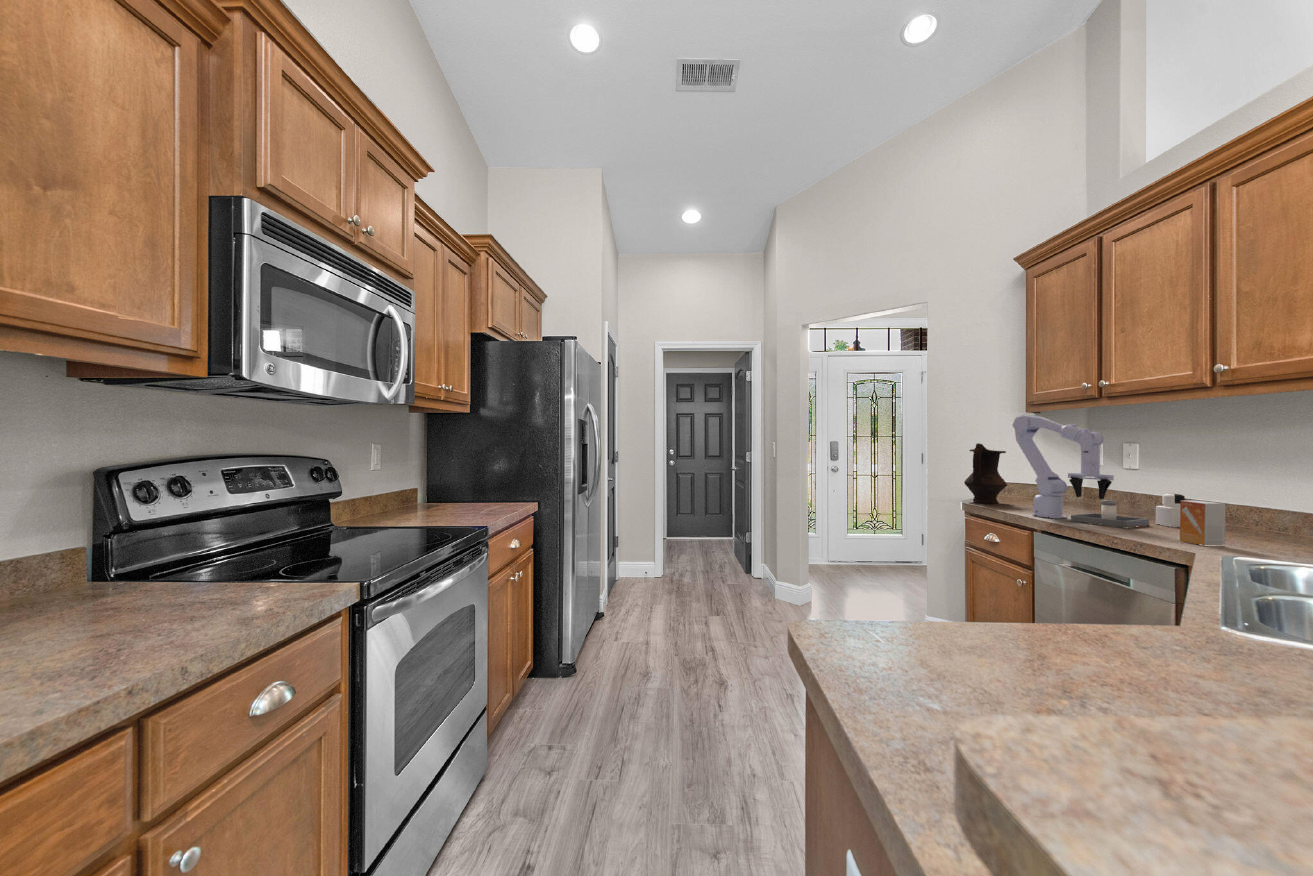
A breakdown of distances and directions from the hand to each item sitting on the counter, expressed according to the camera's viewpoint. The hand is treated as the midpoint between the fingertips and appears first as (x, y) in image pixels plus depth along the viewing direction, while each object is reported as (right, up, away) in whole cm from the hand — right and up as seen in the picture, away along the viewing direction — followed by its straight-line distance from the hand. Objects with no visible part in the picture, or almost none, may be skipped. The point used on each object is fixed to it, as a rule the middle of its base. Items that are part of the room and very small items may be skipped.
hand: (1089, 497), depth 211 cm
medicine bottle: (+25, -10, -8) cm, 28 cm away
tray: (+5, -9, -3) cm, 11 cm away
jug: (-3, -10, +63) cm, 64 cm away
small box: (0, -10, -43) cm, 44 cm away
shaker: (+5, -9, -3) cm, 10 cm away
